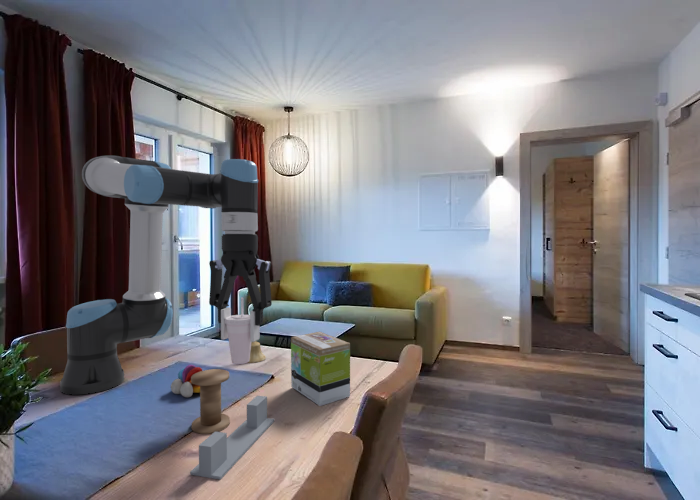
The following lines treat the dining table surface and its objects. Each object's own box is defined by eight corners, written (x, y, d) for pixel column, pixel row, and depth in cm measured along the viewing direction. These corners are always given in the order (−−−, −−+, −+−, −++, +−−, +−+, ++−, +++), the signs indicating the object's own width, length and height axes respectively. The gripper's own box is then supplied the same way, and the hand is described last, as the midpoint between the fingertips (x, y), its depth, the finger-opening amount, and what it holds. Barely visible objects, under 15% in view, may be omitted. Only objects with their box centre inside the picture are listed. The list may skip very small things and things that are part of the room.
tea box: (289, 388, 108) (289, 335, 107) (320, 380, 114) (320, 330, 113) (319, 407, 96) (319, 348, 95) (351, 397, 102) (351, 341, 101)
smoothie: (247, 367, 81) (246, 300, 81) (219, 365, 82) (218, 299, 82) (260, 357, 87) (259, 295, 87) (234, 356, 89) (233, 294, 88)
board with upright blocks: (190, 474, 69) (189, 444, 68) (250, 418, 90) (250, 394, 90) (220, 479, 67) (220, 448, 67) (274, 421, 89) (274, 397, 88)
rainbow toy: (189, 401, 99) (188, 373, 99) (166, 393, 104) (166, 366, 104) (216, 390, 106) (216, 364, 106) (194, 383, 112) (193, 358, 111)
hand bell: (244, 364, 128) (244, 316, 127) (238, 357, 135) (238, 312, 135) (269, 360, 132) (268, 313, 131) (261, 354, 139) (261, 309, 139)
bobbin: (183, 431, 84) (183, 380, 83) (205, 414, 92) (205, 367, 91) (216, 435, 82) (216, 383, 82) (236, 418, 90) (236, 370, 89)
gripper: (189, 232, 83) (190, 340, 83) (273, 232, 78) (273, 346, 79) (210, 233, 90) (211, 332, 91) (288, 233, 85) (288, 337, 86)
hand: (240, 338), depth 85 cm, fingers closed on smoothie, 6 cm apart
